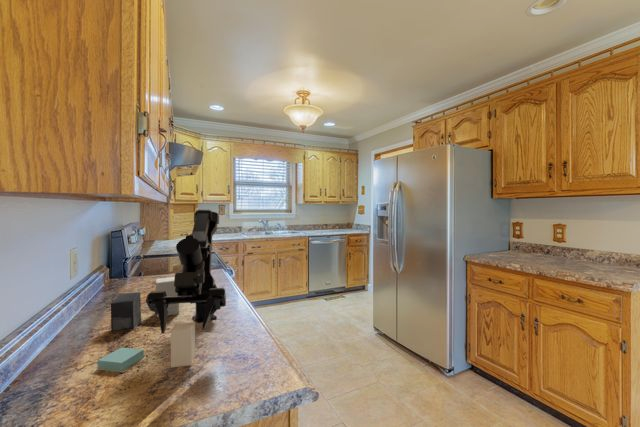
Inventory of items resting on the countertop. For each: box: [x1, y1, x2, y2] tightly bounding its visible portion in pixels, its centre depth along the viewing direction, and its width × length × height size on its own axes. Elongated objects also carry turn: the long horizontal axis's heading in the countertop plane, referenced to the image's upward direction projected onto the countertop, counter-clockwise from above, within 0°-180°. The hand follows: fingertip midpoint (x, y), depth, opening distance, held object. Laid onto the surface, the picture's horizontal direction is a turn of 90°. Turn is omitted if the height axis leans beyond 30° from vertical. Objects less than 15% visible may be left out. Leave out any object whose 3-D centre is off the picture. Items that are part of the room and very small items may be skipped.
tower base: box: [98, 356, 148, 373], centre depth 71 cm, size 7×7×2 cm
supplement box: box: [155, 276, 180, 318], centre depth 110 cm, size 7×7×13 cm
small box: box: [110, 291, 142, 332], centre depth 95 cm, size 11×6×10 cm, turn 21°
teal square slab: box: [97, 346, 145, 373], centre depth 71 cm, size 6×6×2 cm
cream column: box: [170, 321, 196, 368], centre depth 72 cm, size 4×4×10 cm
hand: (183, 331), depth 72 cm, fingers open, 9 cm apart
